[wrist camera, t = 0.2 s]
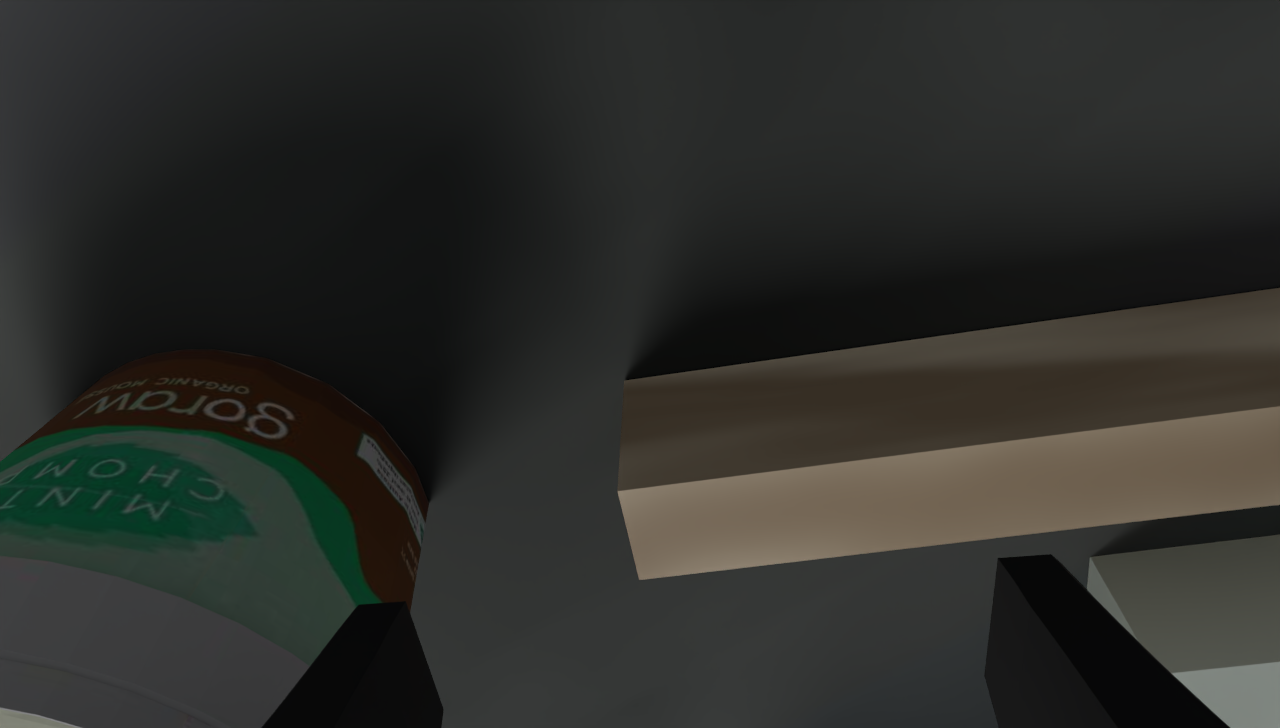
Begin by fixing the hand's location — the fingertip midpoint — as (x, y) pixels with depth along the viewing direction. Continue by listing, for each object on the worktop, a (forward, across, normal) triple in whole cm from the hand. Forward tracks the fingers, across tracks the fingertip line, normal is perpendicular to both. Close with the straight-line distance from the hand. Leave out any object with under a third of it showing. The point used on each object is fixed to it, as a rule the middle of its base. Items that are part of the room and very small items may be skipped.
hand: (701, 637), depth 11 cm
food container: (+10, +12, +2) cm, 16 cm away
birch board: (+10, -9, +3) cm, 14 cm away
